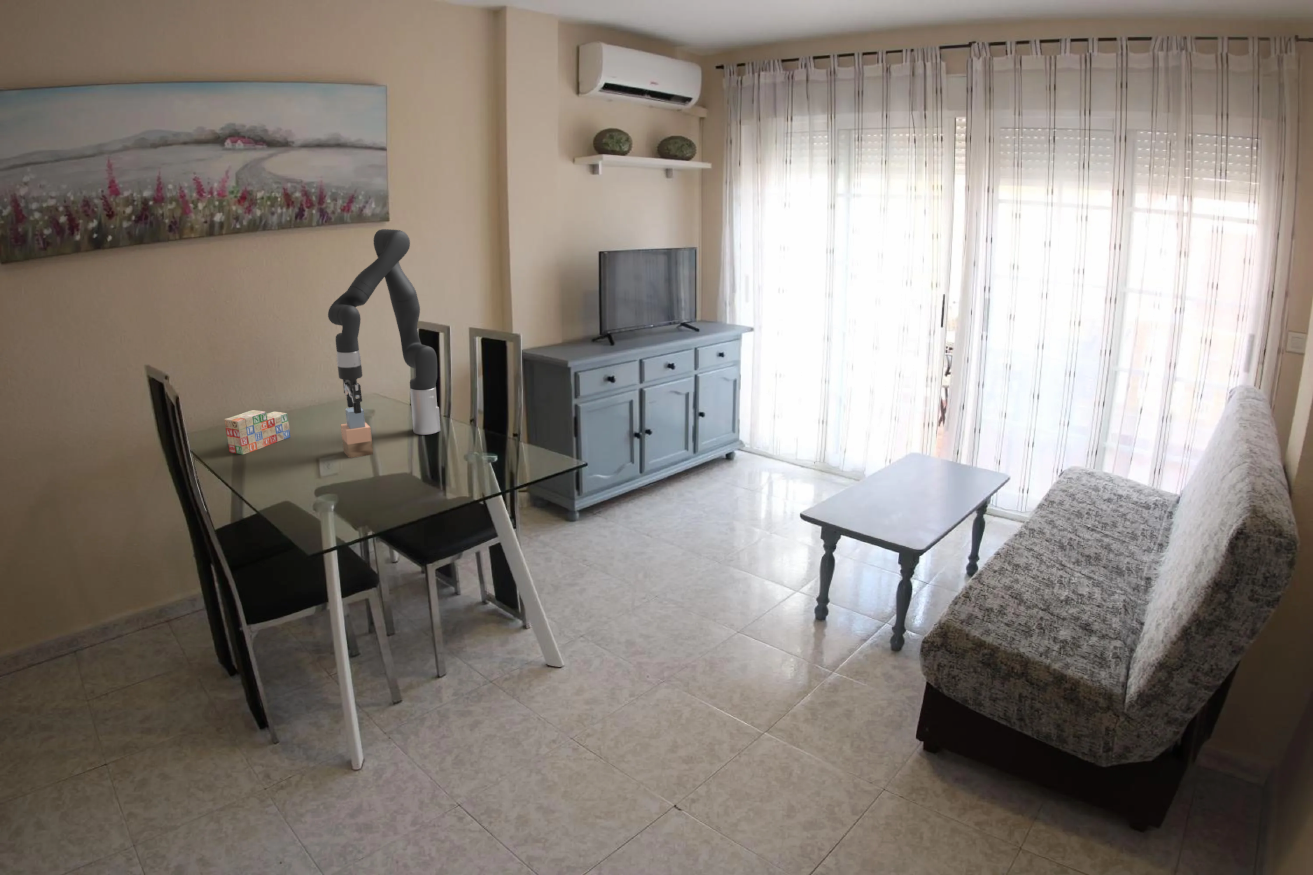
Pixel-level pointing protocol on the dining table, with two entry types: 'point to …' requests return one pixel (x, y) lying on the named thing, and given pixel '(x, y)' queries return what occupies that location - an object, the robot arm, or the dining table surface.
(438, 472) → the dining table surface
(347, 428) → the tower top
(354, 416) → the slate block
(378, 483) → the dining table surface
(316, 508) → the dining table surface
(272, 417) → the stack of blocks
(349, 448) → the tower base
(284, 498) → the dining table surface
